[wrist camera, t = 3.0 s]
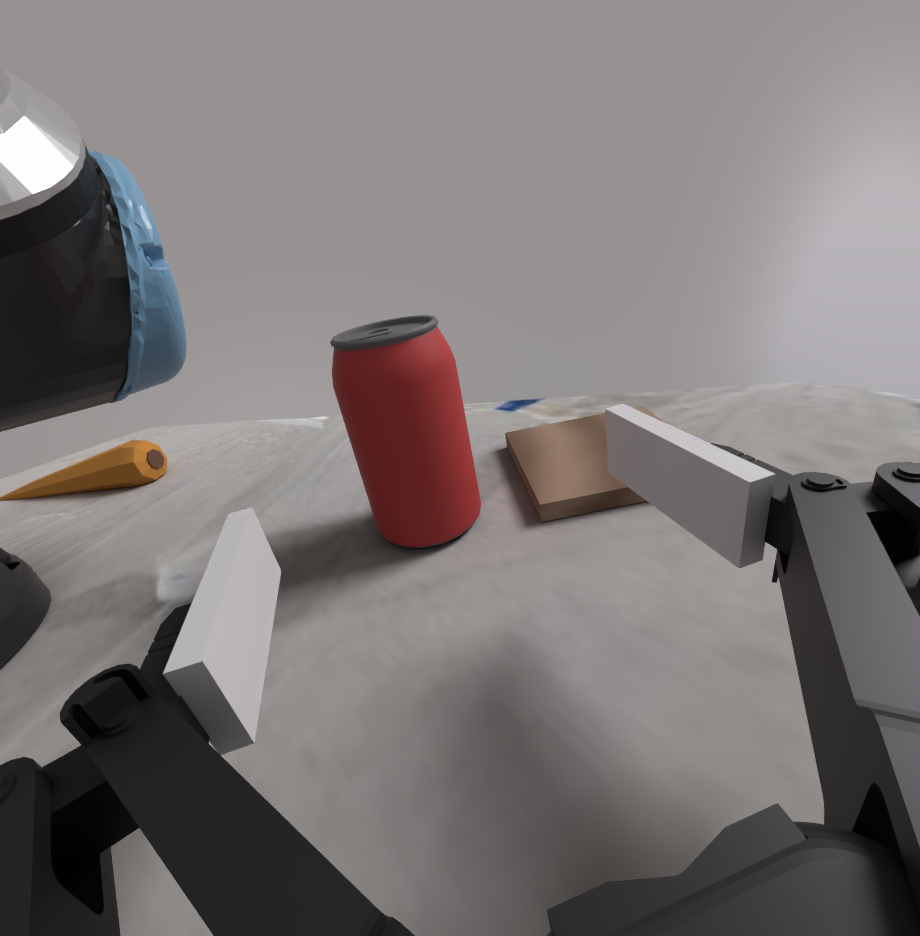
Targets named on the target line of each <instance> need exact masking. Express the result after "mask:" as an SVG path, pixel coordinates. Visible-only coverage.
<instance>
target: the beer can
mask: <svg viewBox="0 0 920 936" xmlns="http://www.w3.org/2000/svg"><path fill="white" fill-rule="evenodd" d="M437 323H438V320H437V319H436V318H435V317H434V316H429V315H419V316H409V317H401V318H396V319H389V320H384V321H380V322H375V323H371V324H367V325H363V326H360V327H356V328H353V329H350V330H347V331H345V332H342V333H339V334H338V335H336V336H334V337H333V339H332V340H331V342H330V343H331V345H332V346H333V347H334V354H333V366H332V378H333V387H334V391H335V394H336V397H337V400H338V403H339V407H340V410H341V413H342V416H343V419H344V423H345V426H346V429H347V432H348V435H349V439H350V442H351V445H352V448H353V451H354V454H355V458H356V461H357V464H358V467H359V470H360V474H361V477H362V480H363V483H364V486H365V490H366V493H367V496H368V499H369V502H370V506H371V509H372V512H373V515H374V518H375V521H376V525H377V528H378V530H379V531H380V533H381V534H382V536H383V537H384V538H385V539H386V540H388V541H390V542H392V543H394V544H396V545H398V546H403V547H409V548H423V547H432V546H435V545H439V544H443V543H446V542H448V541H450V540H452V539H454V538H457V537H459V536H460V535H461V534H463V533H464V532H465V531H467V530H468V529H469V528H470V527H471V526H472V525H473V523H474V522H475V520H476V519H477V517H478V516H479V513H480V507H481V501H480V495H479V490H478V484H477V479H476V473H475V468H474V462H473V456H472V451H471V445H470V440H469V434H468V429H467V423H466V418H465V412H464V407H463V401H462V396H461V390H460V385H459V379H458V373H457V368H456V362H455V359H454V356H453V354H452V351H451V349H450V347H449V345H448V343H447V342H446V340H445V338H444V337H443V335H442V333H441V332H440V330H439V329H438V327H437Z"/></svg>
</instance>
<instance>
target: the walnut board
mask: <svg viewBox="0 0 920 936" xmlns="http://www.w3.org/2000/svg"><path fill="white" fill-rule="evenodd" d="M633 408H634V409H636V410H638V411H640V412H642V413H644V414H647V415H649V416H651V417H653V418H655V419H658V420H660V421H662V422H664V421H663V420H661V419H660V418H658V417H657V416H655V415H654V414H653V413H651V412H650V411H648V410H647V409H645V408H644V407H643V406H639V407H633ZM664 423H665V422H664ZM666 424H667V423H666ZM505 435H506V442H507V448H508V450H509V452H510V454H511V456H512V458H513V461H514V463H515V465H516V467H517V469H518V471H519V473H520V476H521V478H522V480H523V482H524V484H525V486H526V489H527V491H528V493H529V495H530V497H531V499H532V502H533V504H534V506H535V508H536V510H537V512H538V515H539V517H540V519H541V521H542V522H544V521H549V520H554V519H559V518H564V517H569V516H574V515H579V514H584V513H589V512H594V511H599V510H604V509H609V508H614V507H619V506H624V505H629V504H634V503H639V502H644V501H646V500H645V499H643V498H642V497H641V496H639V495H638V494H637V493H635V492H634V491H633V490H631V489H630V488H628V487H627V486H626V485H624V484H623V483H622V482H620V481H619V480H618V479H616V478H615V477H613V476H612V475H611V474H609V473H608V472H607V447H606V420H605V413H603V414H598V415H593V416H588V417H583V418H578V419H573V420H568V421H563V422H558V423H553V424H548V425H543V426H538V427H533V428H528V429H523V430H518V431H513V432H508V433H505Z"/></svg>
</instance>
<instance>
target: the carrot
mask: <svg viewBox="0 0 920 936" xmlns="http://www.w3.org/2000/svg"><path fill="white" fill-rule="evenodd" d="M166 467H167V458H166V456H165V455H164V453H163V451H162V450H161V448H160V447H159V445H156V444H153V443H151V442H148V441H140V440H132V441H129V442H127V443H125V444H122V445H120V446H117V447H115V448H112V449H110V450H108V451H105V452H103V453H100V454H98V455H96V456H93V457H91V458H88V459H86V460H83V461H81V462H79V463H76V464H74V465H71V466H69V467H67V468H64V469H62V470H59V471H57V472H54V473H52V474H50V475H47V476H45V477H42V478H40V479H38V480H35V481H33V482H31V483H29V484H27V485H25V486H23V487H21V488H19V489H17V490H15V491H13V492H10V493H8V494H6V495H4V496H2V497H0V500H9V499H22V498H35V497H43V496H52V495H60V494H69V493H78V492H86V491H95V490H103V489H112V488H121V487H129V486H138V485H143V484H147V483H151V482H153V481H155V480H156V479H158V478H159V477H160V476H162V475H163V474H164V473H166Z"/></svg>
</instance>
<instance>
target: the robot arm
mask: <svg viewBox="0 0 920 936" xmlns="http://www.w3.org/2000/svg"><path fill="white" fill-rule="evenodd" d="M185 356H186V334H185V328H184V321H183V316H182V311H181V307H180V302H179V298H178V294H177V290H176V286H175V283H174V279H173V276H172V273H171V270H170V268H169V266H168V264H167V263H166V261H165V260H164V252H163V249H162V244H161V240H160V237H159V233H158V231H157V227H156V225H155V222H154V220H153V217H152V215H151V212H150V210H149V208H148V205H147V203H146V202H145V199H144V197H143V194H142V192H141V191H140V189H139V187H138V185H137V183H136V182H135V180H134V178H133V177H132V175H131V174H130V172H129V171H128V169H127V168H126V167H125V166H124V165H123V164H122V163H121V162H120V161H118V160H117V159H116V158H114V157H112V156H108V155H102V154H100V153H98V152H96V151H93V152H90V150H87V148H86V146H85V143H84V140H83V138H82V136H81V133H80V131H79V129H78V127H77V126H76V124H75V122H74V121H73V119H72V118H71V117H70V116H69V115H68V114H67V113H66V112H65V111H64V110H63V109H62V108H61V107H59V106H58V105H56V104H55V103H54V102H52V101H51V100H49V99H48V98H46V97H45V96H44V95H42V94H41V93H39V92H37V91H36V90H35V89H33V88H31V87H30V86H28V85H27V84H25V83H24V82H22V81H21V80H19V79H18V78H16V77H15V76H13V75H12V74H10V73H9V72H7V71H6V70H5V67H4V66H3V64H2V61H1V59H0V432H1V431H5V430H9V429H12V428H16V427H20V426H24V425H27V424H31V423H35V422H38V421H42V420H46V419H49V418H53V417H57V416H61V415H64V414H68V413H72V412H76V411H79V410H83V409H87V408H91V407H94V406H97V405H101V404H105V403H114V402H117V401H121V400H122V399H124V398H126V397H127V396H128V395H130V394H132V393H135V392H138V391H141V390H144V389H147V388H150V387H153V386H156V385H159V384H162V383H164V382H167V381H169V380H170V379H172V378H173V377H175V376H176V375H177V374H178V373H179V371H180V370H181V368H182V366H183V364H184V361H185ZM605 420H606V447H607V472H608V473H609V474H611V475H612V476H613V477H615V478H616V479H618V480H619V481H620V482H622V483H623V484H624V485H626V486H627V487H628V488H630V489H631V490H633V491H634V492H635V493H637V494H638V495H639V496H641V497H642V498H643V499H645V500H646V501H648V502H649V503H650V504H652V505H653V506H654V507H656V508H657V509H659V510H660V511H661V512H663V513H664V514H665V515H667V516H668V517H669V518H671V519H672V520H674V521H675V522H676V523H678V524H679V525H680V526H682V527H683V528H684V529H686V530H687V531H689V532H690V533H691V534H693V535H694V536H695V537H697V538H698V539H699V540H701V541H702V542H704V543H705V544H706V545H708V546H709V547H710V548H712V549H713V550H714V551H716V552H717V553H719V554H720V555H721V556H723V557H724V558H725V559H727V560H728V561H730V562H731V563H732V564H734V565H735V566H736V567H738V568H742V567H745V566H747V565H750V564H753V563H756V562H758V561H761V560H763V553H764V547H765V542H767V543H768V544H770V545H772V546H773V547H775V548H776V549H777V554H776V560H775V566H774V572H773V578H772V582H775V583H777V579H778V577H779V581H780V586H781V590H782V595H783V600H784V605H785V610H786V615H787V620H788V625H789V630H790V635H791V640H792V645H793V650H794V655H795V660H796V665H797V670H798V674H799V679H800V684H801V689H802V694H803V699H804V704H805V709H806V714H807V719H808V724H809V729H810V734H811V739H812V744H813V749H814V753H815V758H816V763H817V768H818V773H819V778H820V783H821V788H822V793H823V799H824V811H825V812H824V825H823V824H817V823H809V822H793V821H792V820H791V819H790V818H789V816H788V815H787V814H786V813H785V812H784V810H783V809H782V808H781V807H780V806H779V804H778V803H777V804H775V805H773V806H770V807H768V808H766V809H764V810H762V811H760V812H758V813H755V814H753V815H751V816H749V817H747V818H745V819H742V820H740V821H738V822H736V823H734V824H732V825H729V826H727V827H725V828H724V829H723V830H722V831H721V832H720V833H719V834H718V836H717V837H716V838H715V839H714V840H713V841H712V842H711V843H710V844H709V845H708V846H707V847H706V848H705V849H704V850H703V852H702V853H701V854H700V855H699V856H698V857H697V858H696V859H695V860H694V861H693V862H692V863H691V864H690V865H689V867H688V868H687V869H686V870H685V871H684V872H683V873H681V874H679V875H677V876H671V877H660V878H649V879H637V880H626V881H615V882H607V883H604V884H602V885H600V886H598V887H596V888H594V889H591V890H589V891H587V892H585V893H583V894H581V895H579V896H576V897H574V898H572V899H570V900H568V901H566V902H563V903H561V904H559V905H557V906H555V907H553V908H551V909H548V910H547V913H548V918H549V923H550V927H551V932H550V933H549V934H548V935H547V936H920V463H913V462H893V463H886V464H883V465H881V466H879V467H878V468H877V471H876V474H875V478H874V482H866V483H856V484H850V483H849V482H848V481H846V480H844V479H842V478H840V477H838V476H834V475H830V474H826V473H818V472H806V473H800V474H796V475H794V476H793V475H791V474H789V473H787V472H784V471H782V470H780V469H778V468H775V467H773V466H771V465H769V464H767V463H764V462H762V461H760V460H755V458H753V457H751V456H749V455H744V453H742V452H740V451H737V450H735V449H733V448H731V447H727V446H723V445H718V444H713V443H711V444H710V443H707V442H705V441H703V440H701V439H699V438H697V437H694V436H692V435H690V434H688V433H686V432H684V431H681V430H679V429H677V428H675V427H673V426H671V425H668V424H666V423H664V422H662V421H660V420H658V419H655V418H653V417H651V416H649V415H647V414H644V413H642V412H640V411H638V410H636V409H634V408H631V407H629V406H627V405H625V404H620V405H616V406H613V407H609V408H606V409H605ZM280 577H281V569H280V567H279V565H278V563H277V561H276V558H275V556H274V554H273V552H272V550H271V548H270V545H269V543H268V541H267V539H266V537H265V534H264V532H263V530H262V528H261V526H260V524H259V521H258V519H257V517H256V515H255V513H254V510H253V508H252V507H251V508H247V509H244V510H240V511H237V512H233V513H230V514H228V516H227V518H226V521H225V523H224V526H223V528H222V531H221V533H220V536H219V538H218V540H217V543H216V545H215V548H214V550H213V553H212V555H211V558H210V560H209V562H208V565H207V567H206V570H205V572H204V575H203V577H202V580H201V582H200V584H199V587H198V589H197V592H196V594H195V597H194V599H193V602H192V603H191V604H188V605H184V606H181V607H178V608H175V609H174V610H173V612H172V613H171V614H170V615H169V616H168V617H167V618H166V619H165V620H164V621H163V623H162V624H161V625H160V628H159V630H158V632H157V634H156V636H155V638H154V642H153V643H152V645H151V647H150V649H149V651H148V655H147V656H146V657H145V659H144V662H143V664H142V666H141V668H140V670H139V669H138V667H137V666H134V665H132V664H122V665H117V666H114V667H112V668H109V669H106V670H104V671H102V672H101V673H99V674H97V675H95V676H94V677H92V678H90V679H89V680H88V681H86V682H85V683H84V684H83V685H81V686H80V687H79V688H78V689H77V690H75V692H74V693H73V694H72V695H71V696H70V697H69V698H68V700H67V701H66V702H65V704H64V706H63V708H62V710H61V712H60V721H61V723H62V724H63V725H64V726H65V727H66V728H67V729H68V730H69V732H70V733H71V734H72V735H73V736H74V737H75V738H76V739H77V740H78V741H79V742H80V744H81V746H79V747H78V748H76V749H74V750H72V751H71V752H69V753H67V754H65V755H64V756H62V757H60V758H58V759H56V760H55V761H53V762H51V763H49V764H48V765H46V766H44V767H42V768H41V767H40V766H39V765H38V764H37V763H36V762H35V761H34V760H33V759H30V758H26V757H22V758H18V759H14V760H10V761H8V762H6V763H4V764H2V765H0V936H120V928H119V919H118V910H117V901H116V892H115V883H114V874H113V865H112V856H111V846H112V845H114V844H115V843H117V842H118V841H120V840H121V839H123V838H124V837H126V836H127V835H129V834H130V833H132V832H133V831H135V830H136V829H138V828H140V829H141V831H142V832H143V833H144V835H145V836H146V838H147V839H148V841H149V842H150V844H151V845H152V847H153V848H154V849H155V851H156V852H157V854H158V855H159V857H160V858H161V860H162V861H163V863H164V864H165V865H166V867H167V868H168V870H169V871H170V873H171V874H172V876H173V877H174V879H175V880H176V882H177V883H178V884H179V886H180V887H181V889H182V890H183V892H184V893H185V895H186V896H187V898H188V899H189V900H190V902H191V903H192V905H193V906H194V908H195V909H196V911H197V912H198V914H199V915H200V916H201V918H202V919H203V921H204V922H205V924H206V925H207V927H208V928H209V930H210V931H211V932H212V934H213V935H214V936H414V935H413V934H412V933H411V932H410V931H409V930H408V929H407V928H406V927H405V926H403V925H402V924H401V923H400V922H398V921H397V920H396V919H394V918H393V917H388V916H386V915H384V914H383V913H382V912H381V911H380V910H379V909H377V908H376V907H375V906H374V905H373V904H372V903H371V902H370V901H369V900H368V899H367V898H366V897H365V896H364V895H363V894H362V893H361V892H360V891H359V890H358V889H357V888H356V887H355V886H354V885H353V884H352V883H351V882H350V881H349V880H348V879H347V878H345V877H344V876H343V875H342V874H341V873H340V872H339V871H338V870H337V869H336V868H335V867H334V866H333V865H332V864H331V863H330V862H329V861H328V860H327V859H326V858H325V857H324V856H323V855H322V854H321V853H320V852H319V851H318V850H317V849H316V848H315V847H314V846H313V845H312V844H311V843H310V842H309V841H308V840H307V839H305V838H304V837H303V836H302V835H301V834H300V833H299V832H298V831H297V830H296V829H295V828H294V827H293V826H292V825H291V824H290V823H289V822H288V821H287V820H286V819H285V818H284V817H283V816H282V815H281V814H280V813H279V812H278V811H277V810H276V809H275V808H274V807H273V806H272V805H271V804H270V803H269V802H268V801H267V800H266V799H264V798H263V797H262V796H261V795H260V794H259V793H258V792H257V791H256V790H255V789H254V788H253V787H252V786H251V785H250V784H249V783H248V782H247V781H246V780H245V779H244V778H243V777H242V776H241V775H240V774H239V773H238V772H237V771H236V770H235V769H234V768H233V767H232V766H231V765H230V764H229V763H228V762H227V761H226V760H224V759H223V758H222V757H221V756H220V755H223V754H225V753H228V752H231V751H234V750H236V749H239V748H242V747H245V746H248V745H250V744H253V743H254V742H255V736H256V729H257V723H258V716H259V710H260V704H261V697H262V691H263V685H264V678H265V672H266V666H267V659H268V653H269V647H270V640H271V634H272V627H273V621H274V615H275V608H276V602H277V596H278V589H279V583H280ZM50 601H51V595H50V592H49V590H48V588H47V587H46V586H45V585H44V583H43V582H42V581H41V579H40V578H39V577H38V576H37V574H36V573H35V572H34V571H33V569H32V568H31V567H30V566H29V565H28V564H27V563H26V562H25V561H23V560H22V559H20V558H18V557H17V556H15V555H12V554H9V553H7V552H6V551H4V550H3V549H1V548H0V668H1V667H2V666H3V665H4V664H5V663H6V662H7V661H8V660H9V659H10V658H11V657H12V656H13V655H14V654H15V653H16V652H17V651H18V650H19V649H20V648H21V647H22V646H23V645H24V644H25V643H26V642H27V640H28V639H29V638H30V637H31V636H32V634H33V633H34V632H35V631H36V629H37V628H38V627H39V625H40V624H41V622H42V621H43V619H44V617H45V615H46V613H47V611H48V609H49V606H50ZM209 740H210V742H211V743H212V745H213V746H214V748H215V749H216V750H217V752H218V753H219V754H218V753H217V752H216V751H215V750H214V749H213V748H212V747H211V746H210V745H209V744H208V743H209Z"/></svg>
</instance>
